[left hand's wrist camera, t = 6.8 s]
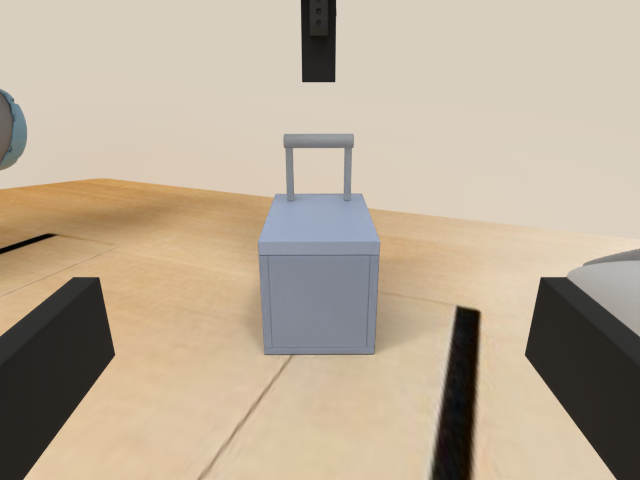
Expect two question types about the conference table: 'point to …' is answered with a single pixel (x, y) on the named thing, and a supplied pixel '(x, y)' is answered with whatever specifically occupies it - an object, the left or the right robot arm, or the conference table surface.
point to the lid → (319, 211)
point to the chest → (319, 303)
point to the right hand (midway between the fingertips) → (318, 82)
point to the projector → (613, 285)
